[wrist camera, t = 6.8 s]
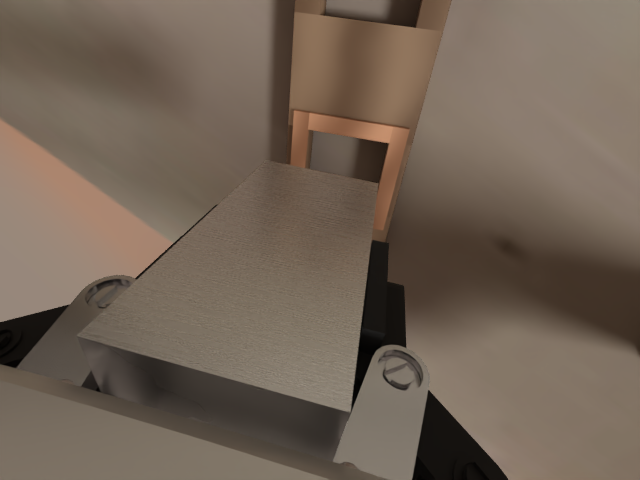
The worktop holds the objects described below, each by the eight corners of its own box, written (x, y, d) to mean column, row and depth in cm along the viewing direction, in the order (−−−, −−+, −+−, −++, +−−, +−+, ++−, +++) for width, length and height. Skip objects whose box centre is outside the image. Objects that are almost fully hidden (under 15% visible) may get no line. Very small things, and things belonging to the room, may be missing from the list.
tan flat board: (510, -233, 16) (527, -271, 14) (380, 248, 33) (380, 261, 31) (318, -243, 17) (308, -280, 15) (287, 229, 34) (280, 241, 32)
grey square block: (378, 183, 12) (350, 412, 5) (355, 273, 15) (312, 515, 7) (266, 160, 13) (76, 335, 5) (262, 250, 15) (130, 458, 8)
